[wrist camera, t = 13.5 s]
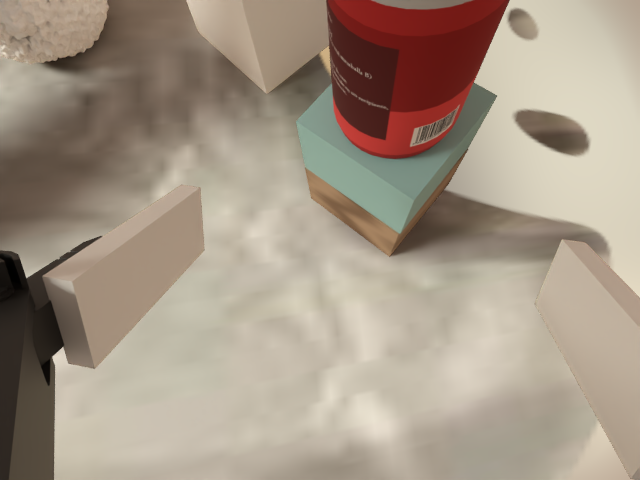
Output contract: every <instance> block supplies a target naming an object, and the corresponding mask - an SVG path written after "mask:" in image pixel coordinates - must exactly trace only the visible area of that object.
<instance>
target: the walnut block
mask: <svg viewBox="0 0 640 480" xmlns="http://www.w3.org/2000/svg"><path fill="white" fill-rule="evenodd" d="M467 150H468V149H467ZM467 150H466V151H465V152H464V154H463V155H462V156H461V157H460V159H459V160H458V161H457V163H456V164H455V165H454V166H453V168H452V169H451V170H450V171H449V173H448V174H447V175H446V177H445V178H444V179H443V180H442V182H441V183H440V184H439V185H438V187H437V188H436V189H435V190H434V192H433V193H432V194H431V196H430V197H429V198H428V199H427V201H426V202H425V203H424V204H423V206H422V207H421V208H420V210H419V211H418V212H417V213H416V215H415V216H414V217H413V218H412V220H411V221H410V222H409V224H408V225H407V226H406V227H405V229H404V230H403V231H402V232H401V234H399V233H398V232H396V231H395V230H393V229H392V228H391V227H389V226H388V225H386V224H385V223H384V222H382V221H381V220H379V219H378V218H376V217H375V216H374V215H372V214H371V213H369V212H368V211H366V210H365V209H364V208H362V207H361V206H359V205H358V204H357V203H355V202H354V201H352V200H351V199H349V198H348V197H347V196H345V195H344V194H342V193H341V192H339V191H338V190H337V189H335V188H334V187H332V186H331V185H330V184H328V183H327V182H325V181H324V180H322V179H321V178H320V177H318V176H317V175H315V174H314V173H312V172H311V171H310V170H308V169H307V168H305V170H306V175H307V179H308V184H309V189H310V194H311V198H312V199H313V200H315V201H316V202H317V203H319V204H320V205H321V206H323V207H324V208H325V209H327V210H328V211H329V212H331V213H332V214H333V215H335V216H336V217H337V218H339V219H340V220H341V221H343V222H344V223H345V224H347V225H348V226H349V227H351V228H352V229H353V230H355V231H356V232H357V233H359V234H360V235H361V236H363V237H364V238H365V239H367V240H368V241H369V242H371V243H372V244H373V245H375V246H376V247H377V248H379V249H380V250H381V251H383V252H384V253H385V254H387V255H388V256H389V257H390V256H391V254H392V253H393V252H394V251H395V249H396V248H397V247H398V246H399V244H400V243H401V242H402V241H403V239H404V238H405V237H406V236H407V235H408V233H409V232H410V231H411V230H412V228H413V227H414V226H415V225H416V223H417V222H418V221H419V220H420V218H421V217H422V216H423V215H424V214H425V212H426V211H427V210H428V209H429V207H430V206H431V205H432V204H433V202H434V201H435V200H436V199H437V197H438V196H439V195H440V194H441V193H442V191H443V190H444V189H445V188H446V187H447V185H448V184H449V182H450V180H451V179H452V177H453V175H454V173H455V172H456V170H457V168H458V166H459V164H460V163H461V161H462V159H463V157H464V156H465V154H466V152H467Z"/></svg>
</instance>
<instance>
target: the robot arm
mask: <svg viewBox="0 0 640 480" xmlns="http://www.w3.org/2000/svg"><path fill="white" fill-rule="evenodd" d="M203 251H204V236H203V221H202V206H201V190H200V187H194V186H187V185H180V186H179V187H177V188H176V189H174V190H173V191H171V192H170V193H168V194H167V195H165V196H164V197H162V198H160V199H159V200H157V201H156V202H154V203H153V204H151V205H150V206H148V207H147V208H145V209H144V210H142V211H141V212H139V213H138V214H136V215H135V216H133V217H132V218H130V219H128V220H127V221H125V222H124V223H122V224H121V225H119V226H118V227H116V228H115V229H113V230H112V231H110V232H109V233H107V234H106V235H104V236H100V237H97V238H94V239H91V240H88V241H86V242H83V243H82V244H80V245H79V246H77V247H75V248H74V249H72V250H71V252H70V253H69V252H68V253H66V254H64V255H63V256H61V257H60V259H59V260H58V259H57V260H55V261H53V262H52V263H50V264H49V265H47V266H45V267H44V268H42V269H41V270H39V271H38V272H36V273H34V274H33V275H31V276H30V277H28V278H27V279H26V276H25V273H24V270H23V267H22V264H21V261H20V258H19V255H18V254H16V253H14V252H11V251H0V480H54V420H55V365H54V362H53V359H52V356H53V355H54V354H56V353H57V352H58V351H59V350H60V349H61V348H62V347H64V350H65V354H66V357H67V360H68V363H69V364H74V365H79V366H84V367H88V368H93V369H95V368H96V367H97V366H98V365H99V364H100V363H101V362H102V361H103V360H104V358H105V357H106V356H107V355H108V354H109V353H110V352H111V351H112V350H113V349H114V348H115V347H116V345H117V344H118V343H119V342H120V341H121V340H122V339H123V338H124V337H125V336H126V335H127V334H128V332H129V331H130V330H131V329H132V328H133V327H134V326H135V325H136V324H137V323H138V322H139V321H140V319H141V318H142V317H143V316H144V315H145V314H146V313H147V312H148V311H149V310H150V309H151V308H152V307H153V305H154V304H155V303H156V302H157V301H158V300H159V299H160V298H161V297H162V296H163V295H164V294H165V292H166V291H167V290H168V289H169V288H170V287H171V286H172V285H173V284H174V283H175V282H176V281H177V279H178V278H179V277H180V276H181V275H182V274H183V273H184V272H185V271H186V270H187V269H188V268H189V266H190V265H191V264H192V263H193V262H194V261H195V260H196V259H197V258H198V257H199V256H200V255H201V253H202V252H203ZM535 305H536V307H537V309H538V311H539V313H540V315H541V316H542V318H543V320H544V322H545V324H546V326H547V327H548V329H549V331H550V333H551V335H552V336H553V338H554V340H555V342H556V344H557V346H558V347H559V349H560V351H561V353H562V355H563V357H564V358H565V360H566V362H567V364H568V366H569V367H570V369H571V371H572V373H573V375H574V377H575V378H576V380H577V382H578V384H579V386H580V388H581V389H582V391H583V393H584V395H585V397H586V398H587V400H588V402H589V404H590V406H591V408H592V409H593V411H594V413H595V415H596V417H597V419H598V420H599V422H600V424H601V426H602V428H603V429H604V431H605V433H606V435H607V437H608V438H609V440H610V442H611V444H612V446H613V448H614V449H615V451H616V453H617V455H618V457H619V459H620V460H621V462H622V464H623V466H624V468H625V470H626V471H627V473H628V475H629V477H630V479H634V480H640V298H639V297H638V296H637V295H636V294H635V293H634V292H633V290H631V288H630V287H629V286H628V285H627V284H626V283H625V282H624V281H623V280H622V279H621V278H620V277H619V276H618V275H617V274H616V273H615V272H614V271H613V270H612V269H611V268H610V267H609V266H608V265H607V264H606V263H605V262H604V261H603V260H602V259H601V258H600V257H599V256H598V255H597V254H596V253H595V252H594V251H593V250H592V249H591V248H590V246H589V245H588V244H587V243H585V242H578V241H571V240H564V239H562V241H561V243H560V245H559V248H558V250H557V252H556V255H555V257H554V259H553V262H552V264H551V266H550V269H549V271H548V273H547V276H546V278H545V280H544V283H543V285H542V287H541V290H540V292H539V295H538V297H537V299H536V302H535Z"/></svg>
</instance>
